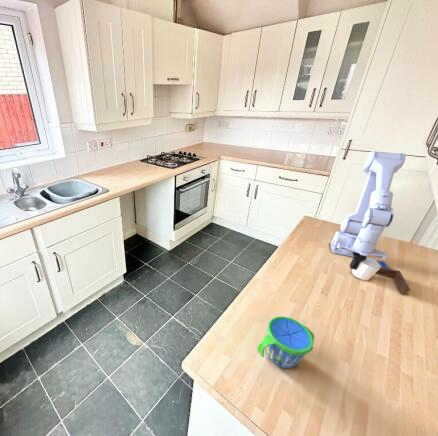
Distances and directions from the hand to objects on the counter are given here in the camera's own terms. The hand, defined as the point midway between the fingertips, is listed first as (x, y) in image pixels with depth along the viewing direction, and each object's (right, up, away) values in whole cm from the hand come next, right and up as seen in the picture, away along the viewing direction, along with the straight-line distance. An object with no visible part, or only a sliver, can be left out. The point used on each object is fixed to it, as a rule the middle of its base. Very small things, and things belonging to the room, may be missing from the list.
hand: (352, 267), depth 96 cm
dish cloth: (+13, 0, +5) cm, 14 cm away
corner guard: (+11, -5, -3) cm, 12 cm away
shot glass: (+3, -3, 0) cm, 4 cm away
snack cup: (-44, -19, -27) cm, 55 cm away
